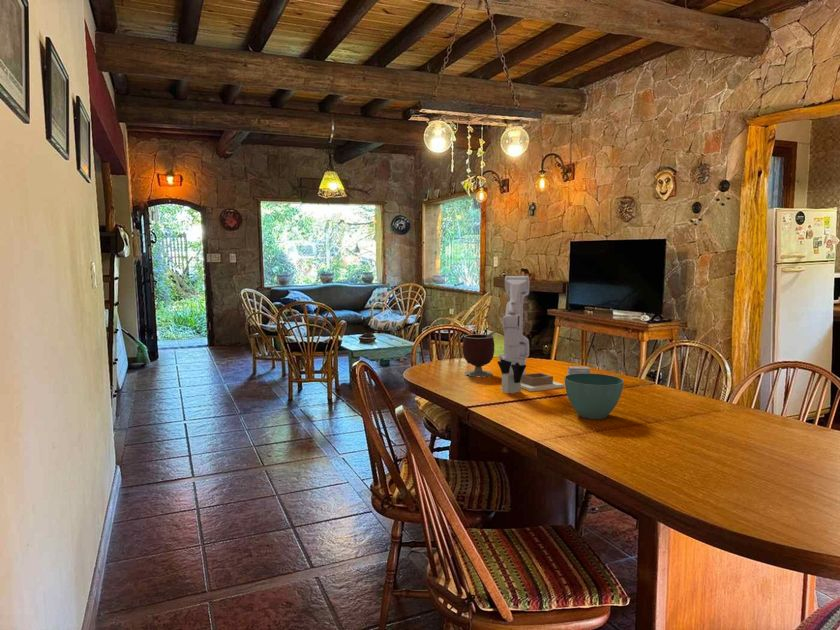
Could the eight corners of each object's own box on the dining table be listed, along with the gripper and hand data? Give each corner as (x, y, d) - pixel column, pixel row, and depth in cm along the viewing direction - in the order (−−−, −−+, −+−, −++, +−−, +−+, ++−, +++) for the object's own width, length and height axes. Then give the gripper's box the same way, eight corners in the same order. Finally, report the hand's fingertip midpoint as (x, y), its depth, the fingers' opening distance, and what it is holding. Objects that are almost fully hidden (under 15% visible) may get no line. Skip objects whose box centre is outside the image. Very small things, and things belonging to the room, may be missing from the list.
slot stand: (510, 384, 232) (510, 374, 232) (541, 380, 239) (542, 370, 239) (530, 391, 219) (531, 380, 219) (564, 387, 226) (564, 376, 226)
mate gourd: (459, 376, 248) (459, 331, 246) (466, 370, 262) (466, 327, 260) (495, 378, 244) (495, 332, 242) (500, 372, 257) (500, 328, 255)
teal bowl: (620, 410, 191) (621, 374, 190) (624, 425, 174) (625, 386, 173) (564, 407, 196) (565, 371, 195) (563, 421, 179) (563, 382, 178)
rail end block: (501, 391, 220) (501, 373, 219) (514, 390, 222) (514, 372, 222) (507, 393, 216) (507, 375, 215) (520, 392, 219) (521, 374, 218)
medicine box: (587, 388, 225) (588, 366, 224) (590, 390, 221) (590, 368, 220) (567, 387, 226) (567, 366, 225) (569, 390, 221) (569, 368, 221)
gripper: (492, 344, 222) (492, 378, 223) (514, 348, 209) (513, 385, 210) (507, 342, 225) (507, 376, 227) (529, 347, 212) (529, 383, 213)
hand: (511, 380), depth 219 cm, fingers open, 7 cm apart
